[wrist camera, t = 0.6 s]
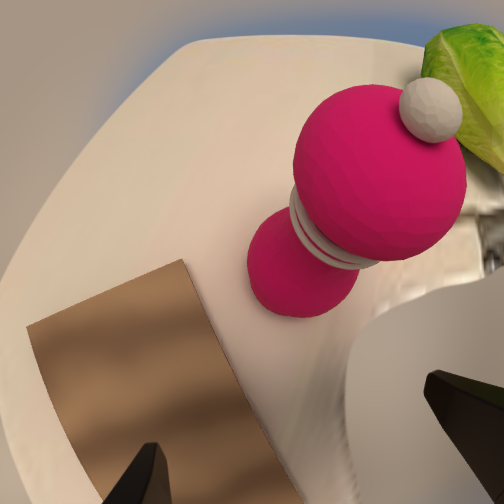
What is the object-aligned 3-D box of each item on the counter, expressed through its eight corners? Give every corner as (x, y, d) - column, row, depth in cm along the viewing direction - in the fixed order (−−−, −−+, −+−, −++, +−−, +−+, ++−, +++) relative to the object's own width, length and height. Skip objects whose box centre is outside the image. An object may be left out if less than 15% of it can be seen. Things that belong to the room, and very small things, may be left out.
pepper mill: (349, 290, 25) (560, 165, 6) (276, 341, 23) (469, 302, 4) (300, 217, 26) (417, 5, 7) (225, 261, 25) (239, 21, 6)
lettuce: (435, 200, 31) (519, 140, 16) (388, 65, 35) (426, -16, 20) (522, 198, 31) (594, 157, 16) (475, 80, 35) (520, 22, 20)
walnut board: (302, 500, 20) (309, 513, 18) (154, 548, 17) (149, 562, 15) (185, 267, 25) (181, 258, 23) (41, 329, 22) (26, 326, 20)
